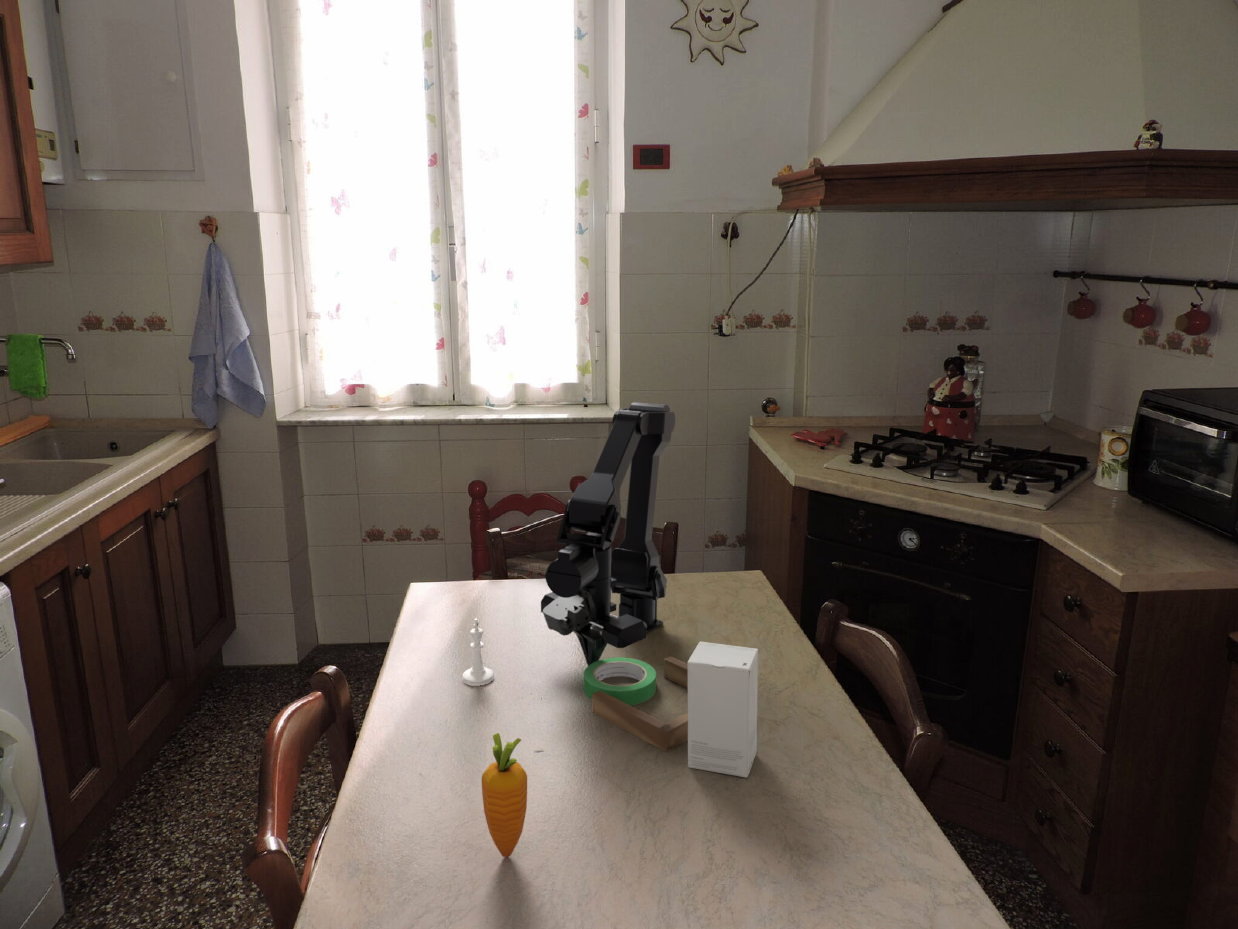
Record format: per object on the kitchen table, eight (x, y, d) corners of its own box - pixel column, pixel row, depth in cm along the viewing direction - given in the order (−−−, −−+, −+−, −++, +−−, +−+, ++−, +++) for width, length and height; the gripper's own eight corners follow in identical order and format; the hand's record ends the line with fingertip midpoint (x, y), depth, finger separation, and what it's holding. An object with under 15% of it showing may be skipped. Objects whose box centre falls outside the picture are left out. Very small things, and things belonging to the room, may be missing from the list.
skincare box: (757, 754, 123) (762, 647, 119) (747, 781, 117) (752, 670, 113) (696, 742, 126) (699, 638, 122) (683, 769, 120) (686, 659, 116)
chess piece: (497, 671, 145) (495, 613, 143) (490, 687, 141) (488, 626, 138) (466, 670, 146) (464, 611, 143) (458, 685, 141) (455, 625, 138)
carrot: (485, 843, 105) (481, 726, 101) (529, 841, 105) (526, 724, 102) (482, 873, 100) (478, 751, 96) (528, 871, 101) (526, 749, 97)
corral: (670, 673, 145) (670, 656, 144) (743, 707, 135) (744, 688, 134) (592, 712, 133) (592, 694, 133) (666, 752, 123) (667, 732, 123)
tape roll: (608, 665, 148) (608, 650, 147) (668, 683, 142) (669, 667, 142) (569, 694, 139) (569, 678, 138) (632, 714, 133) (632, 698, 133)
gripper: (513, 570, 142) (514, 662, 146) (595, 606, 129) (595, 706, 133) (567, 553, 149) (567, 641, 153) (650, 585, 137) (648, 681, 141)
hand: (592, 666), depth 145 cm, fingers closed
